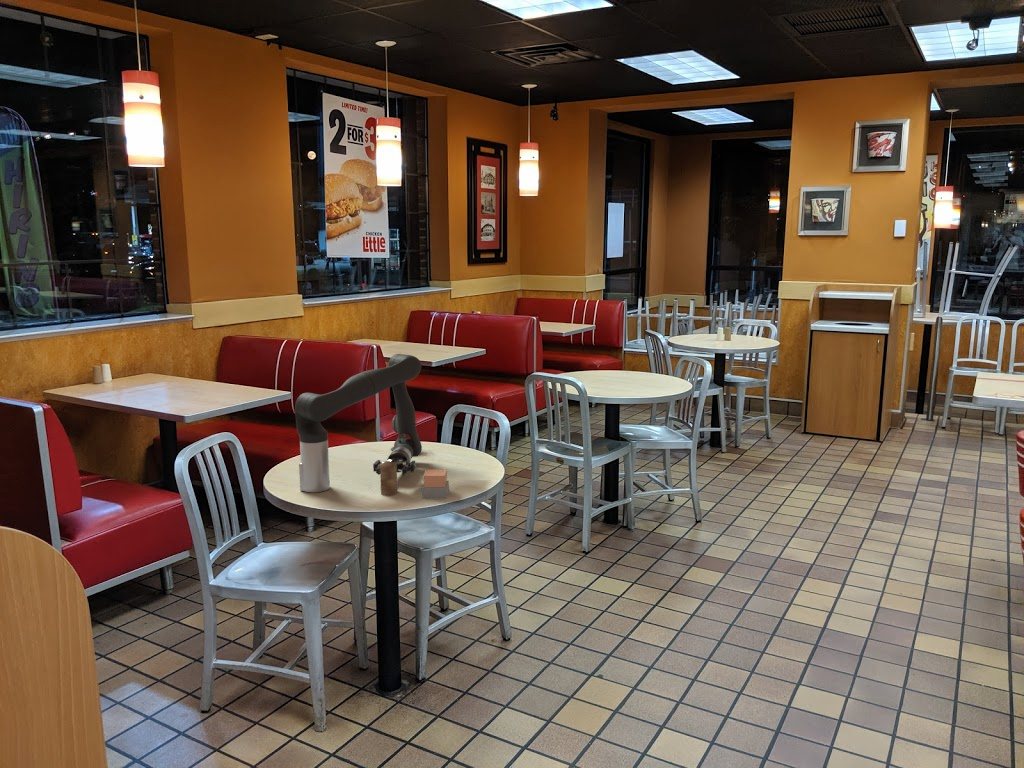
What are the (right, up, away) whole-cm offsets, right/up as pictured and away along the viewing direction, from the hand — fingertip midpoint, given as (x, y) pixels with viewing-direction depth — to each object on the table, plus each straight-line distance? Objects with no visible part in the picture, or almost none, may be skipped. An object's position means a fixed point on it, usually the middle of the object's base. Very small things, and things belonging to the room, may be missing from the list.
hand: (390, 472), depth 263 cm
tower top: (+16, -3, -5) cm, 17 cm away
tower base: (+16, -7, -4) cm, 18 cm away
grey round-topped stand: (-4, +3, +52) cm, 52 cm away
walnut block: (0, -7, -2) cm, 7 cm away
